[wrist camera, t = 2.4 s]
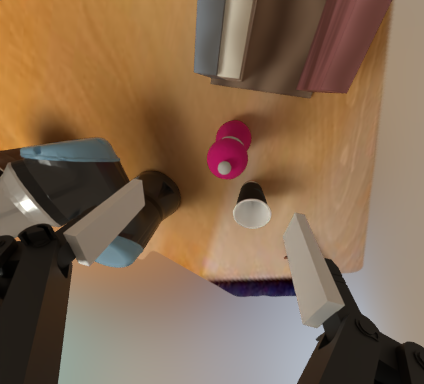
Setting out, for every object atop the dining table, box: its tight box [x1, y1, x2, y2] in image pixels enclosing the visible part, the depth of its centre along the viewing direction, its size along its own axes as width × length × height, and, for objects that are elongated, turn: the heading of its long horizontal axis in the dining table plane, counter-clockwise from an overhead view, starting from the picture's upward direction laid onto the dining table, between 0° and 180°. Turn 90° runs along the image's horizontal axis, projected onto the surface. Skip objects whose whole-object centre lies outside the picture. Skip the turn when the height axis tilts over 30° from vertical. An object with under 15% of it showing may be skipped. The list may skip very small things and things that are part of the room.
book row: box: [194, 0, 392, 98], centre depth 23 cm, size 19×14×14 cm
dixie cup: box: [233, 181, 271, 229], centre depth 40 cm, size 8×8×11 cm
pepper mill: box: [207, 120, 251, 179], centre depth 29 cm, size 7×7×20 cm
